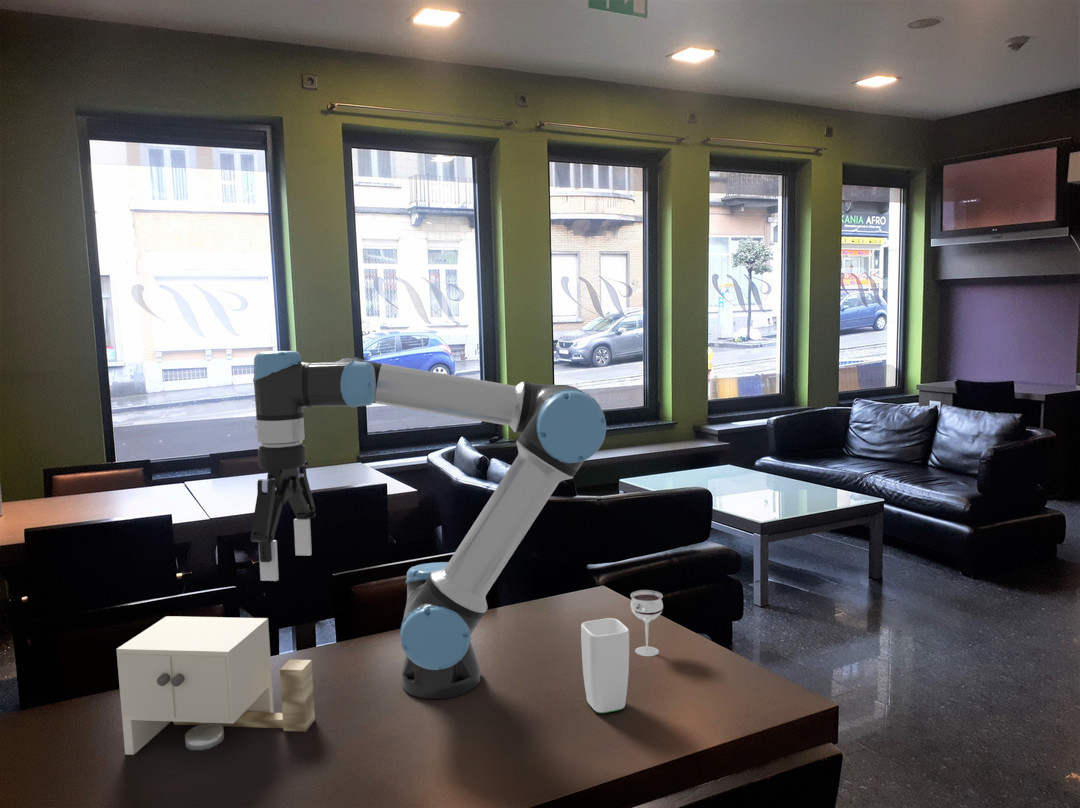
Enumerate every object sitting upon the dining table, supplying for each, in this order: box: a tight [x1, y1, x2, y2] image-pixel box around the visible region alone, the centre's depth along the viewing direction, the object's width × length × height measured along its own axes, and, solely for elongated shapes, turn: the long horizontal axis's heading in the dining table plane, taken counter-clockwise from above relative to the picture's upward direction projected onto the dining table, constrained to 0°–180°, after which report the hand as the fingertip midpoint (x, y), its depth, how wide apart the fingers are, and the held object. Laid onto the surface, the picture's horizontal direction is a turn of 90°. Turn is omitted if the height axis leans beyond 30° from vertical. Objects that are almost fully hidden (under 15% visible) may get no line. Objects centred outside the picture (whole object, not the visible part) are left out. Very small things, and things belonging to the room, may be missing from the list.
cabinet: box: [115, 615, 275, 756], centre depth 133 cm, size 19×16×18 cm
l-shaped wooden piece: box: [172, 659, 316, 732], centre depth 137 cm, size 24×4×11 cm, turn 84°
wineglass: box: [629, 589, 664, 657], centre depth 163 cm, size 7×7×12 cm
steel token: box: [184, 723, 225, 752], centre depth 132 cm, size 6×6×2 cm
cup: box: [580, 617, 630, 714], centre depth 140 cm, size 7×7×15 cm
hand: (287, 567), depth 134 cm, fingers open, 13 cm apart
